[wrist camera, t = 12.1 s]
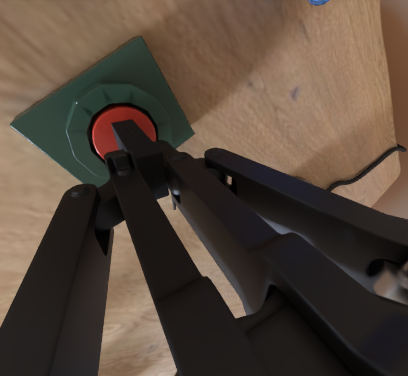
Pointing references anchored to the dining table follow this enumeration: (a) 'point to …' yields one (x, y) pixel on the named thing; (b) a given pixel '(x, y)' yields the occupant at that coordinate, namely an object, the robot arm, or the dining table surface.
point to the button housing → (95, 101)
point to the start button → (115, 113)
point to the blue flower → (318, 2)
